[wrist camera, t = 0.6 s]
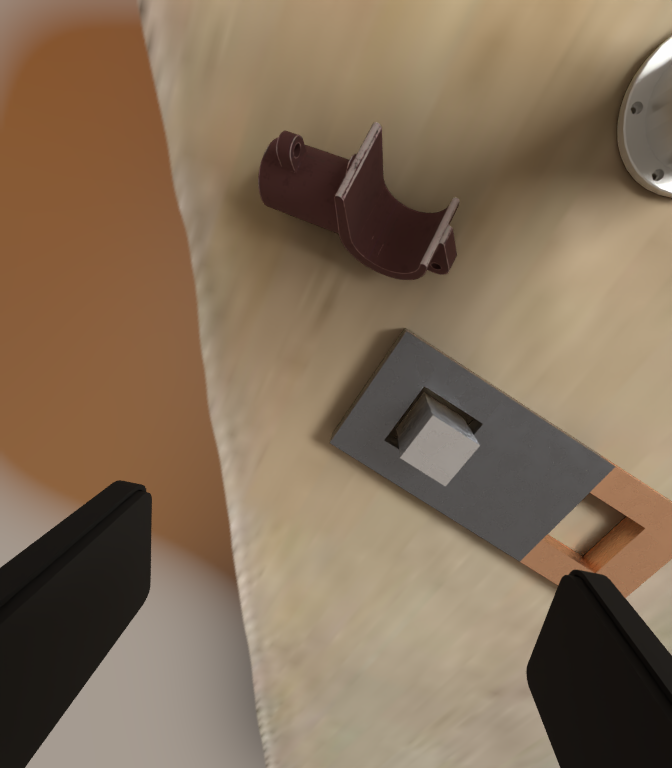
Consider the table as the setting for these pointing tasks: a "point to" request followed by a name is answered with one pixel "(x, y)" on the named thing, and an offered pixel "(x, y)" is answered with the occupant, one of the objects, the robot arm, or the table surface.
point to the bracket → (357, 206)
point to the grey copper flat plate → (508, 471)
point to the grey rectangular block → (435, 439)
